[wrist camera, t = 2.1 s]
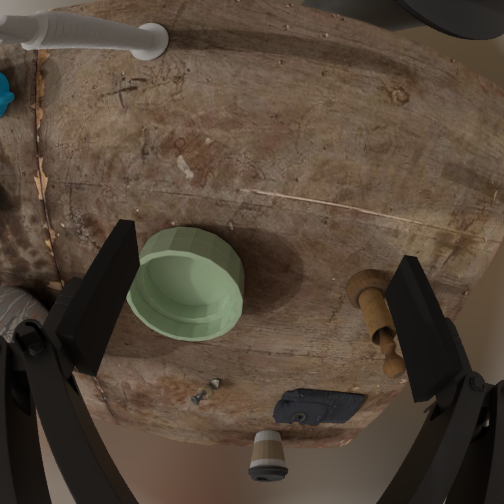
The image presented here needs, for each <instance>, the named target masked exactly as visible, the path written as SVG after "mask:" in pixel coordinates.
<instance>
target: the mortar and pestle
mask: <svg viewBox="0 0 504 504" xmlns="http://www.w3.org/2000/svg"><path fill="white" fill-rule="evenodd" d="M386 289H387V285H386V282H385V280H384V278H383V276H382V274H381V273H379V272H378V271H375V270H365V271H362V272H359V273H357V274H356V275H354V276H353V277H352V278H351V279H350V280H349V282H348V284H347V287H346V292H347V295H348V298H349V301H350V303H351V305H352V306H354V307H355V308H358V309H361V310H362V313H363V316H364V319H365V322H366V325H367V329H368V332H369V335H370V338H371V341H372V343H374V344H376V345H380V351H381V353H383V354H385V355H386V359H385V362H384V366H383V370H384V373H385V375H386V376H387V377H389V378H391V379H396V378H399V377H400V376H402V375H403V374H404V372H405V370H406V366H405V362H404V359H403V358H402V357H400V356H399V355H398V354H396V352H395V349H396V343H395V342H394V340H393V339H394V337H395V336H396V329H395V326H394V323H393V320H392V318H391V315H390V313H389V311H388V308H387V306H386V303H385V301H384V298H385V294H384V293H385V291H386Z"/></svg>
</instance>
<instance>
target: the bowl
mask: <svg viewBox="0 0 504 504" xmlns="http://www.w3.org/2000/svg"><path fill="white" fill-rule="evenodd" d="M139 259H140V267H139V269H138V271H137V274H136V276H135V278H134V280H133V283H132V285H131V287H130V290H129V292H128V294H127V302H128V303H129V305H130V307H131V308H132V310H133V312H134V313H135V315H136V316H137V317H138V318H139V319H140V320H141V321H143V322H144V323H145V324H146V325H147V326H148V327H150V328H152V329H153V330H155V331H157V332H158V333H160V334H162V335H165V336H168V337H171V338H174V339H178V340H186V341H203V340H210V339H213V338H216V337H218V336H221V335H224V334H225V333H226V332H228V331H229V330H230V329H232V328H233V327H234V326H235V325H236V323H237V321H238V320H239V318H240V316H241V314H242V306H243V294H244V278H245V273H244V269H243V266H242V262H241V259H240V258H239V256H238V255H237V254H236V252H235V251H234V250H233V248H232V247H231V246H230V245H229V244H228V243H227V242H225V241H224V240H222V239H221V238H220V237H218V236H217V235H215V234H213V233H210V232H207V231H205V230H202V229H199V228H193V227H181V226H179V227H174V228H169V229H165V230H161V231H160V232H158V233H156V234H155V235H153V236H152V237H150V238H149V239H148V240H147V241H146V242H145V244H144V245H143V247H142V248H141V249H140V251H139Z"/></svg>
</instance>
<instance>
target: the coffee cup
mask: <svg viewBox="0 0 504 504" xmlns="http://www.w3.org/2000/svg"><path fill="white" fill-rule="evenodd" d="M248 471H249V472H248V474H250V475H251V478H252V479H253V480H256V481H262V482H270V481H271V482H272V481H279V480H282V479H284V478H285V475H286V474H287V473H288V469H287V468H286V464H285V458H284V453H283V447H282V441H281V436H280V433H279V432H277V431H273V430H264V431H260V432H258V433H257V434H256V437H255V442H254V448H253V454H252V460H251V466H250V469H249V470H248Z"/></svg>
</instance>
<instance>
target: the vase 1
mask: <svg viewBox="0 0 504 504" xmlns="http://www.w3.org/2000/svg"><path fill="white" fill-rule="evenodd" d="M49 312H50V309H49V307H48V306H47V305H46V304H45V302H44V301H43V300H42V299H41V298H40V297H38V296H37V295H36V294H34V293H33V292H31V291H29V290H27V289H24V288H21V287H17V286H3V287H0V335H1V336H2V337H4V338H5V340H6V341H7V342H8V343H11V342H14V341H13V340H12V338H13V332H14V329H15V327H16V326H17V325H18V324H19V323H20V322H22V321H24V320H26V319H36V320H37V321H39V322H40V323H41V325H43V323H44V321H45V319H46V317H47V315H48V314H49Z"/></svg>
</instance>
